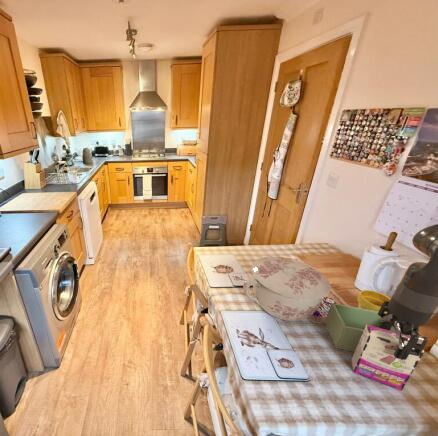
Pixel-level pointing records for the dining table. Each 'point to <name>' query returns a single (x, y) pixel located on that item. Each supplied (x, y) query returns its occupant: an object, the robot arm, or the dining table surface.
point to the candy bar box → (382, 358)
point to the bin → (350, 324)
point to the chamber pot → (287, 287)
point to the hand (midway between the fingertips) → (390, 344)
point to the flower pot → (371, 300)
